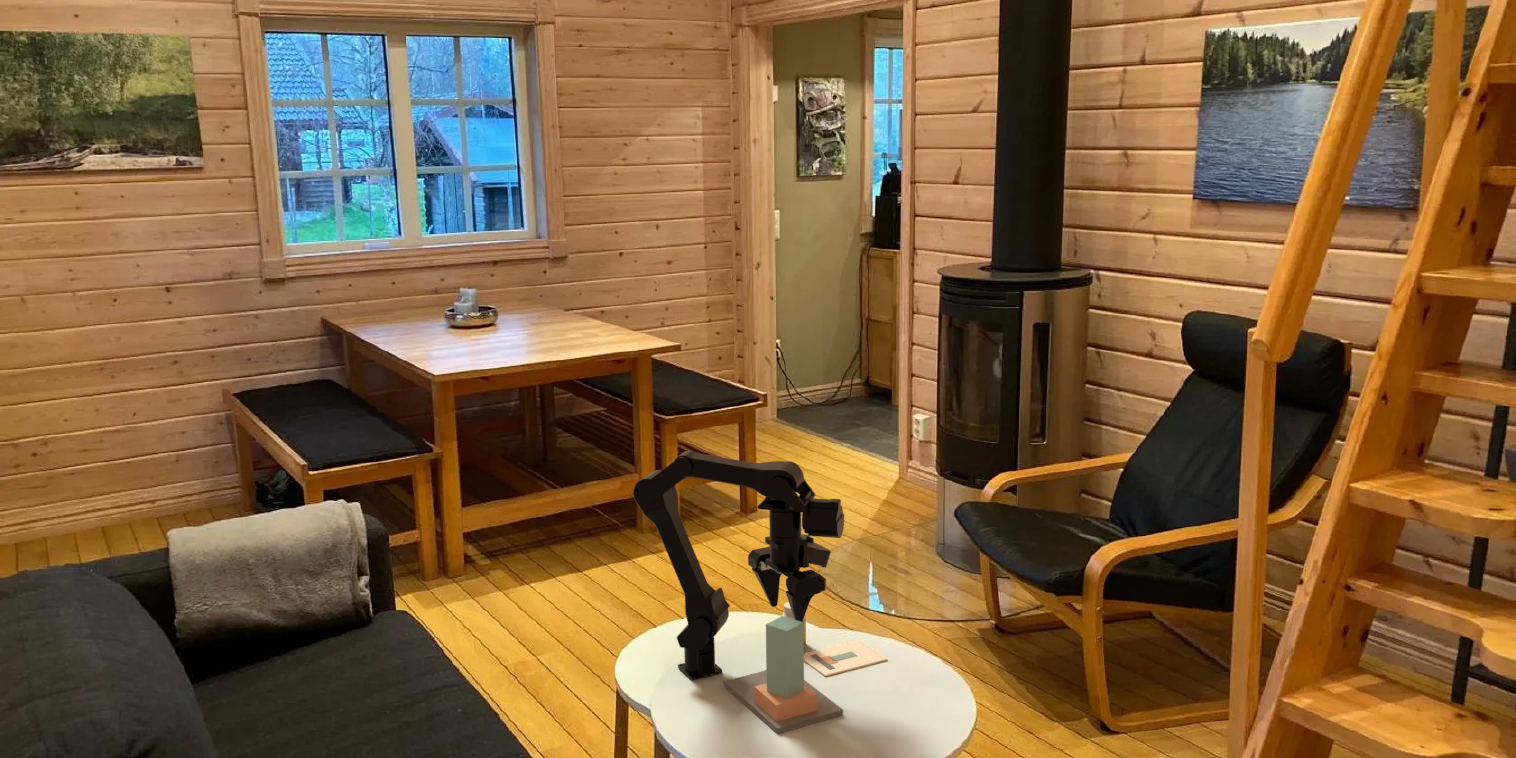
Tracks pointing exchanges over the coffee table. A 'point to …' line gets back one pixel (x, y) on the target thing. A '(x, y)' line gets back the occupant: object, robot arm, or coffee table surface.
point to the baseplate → (788, 724)
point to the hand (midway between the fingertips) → (786, 614)
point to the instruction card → (843, 658)
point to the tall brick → (785, 656)
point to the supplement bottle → (789, 614)
